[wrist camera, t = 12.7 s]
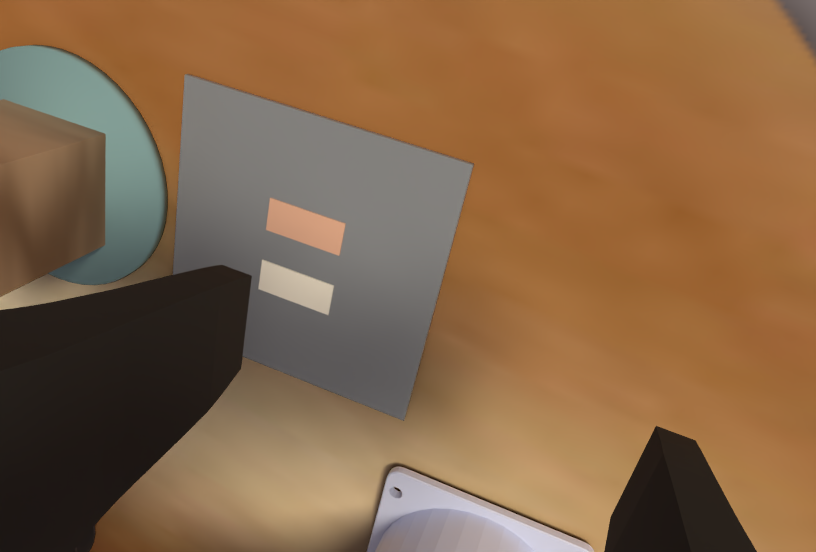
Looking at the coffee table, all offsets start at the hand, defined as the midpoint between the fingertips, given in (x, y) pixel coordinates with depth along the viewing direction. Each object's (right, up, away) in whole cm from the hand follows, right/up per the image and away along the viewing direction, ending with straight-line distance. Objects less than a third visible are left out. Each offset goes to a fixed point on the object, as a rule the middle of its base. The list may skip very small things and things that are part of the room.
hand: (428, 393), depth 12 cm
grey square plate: (-4, +3, +12) cm, 13 cm away
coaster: (-13, +6, +14) cm, 20 cm away
